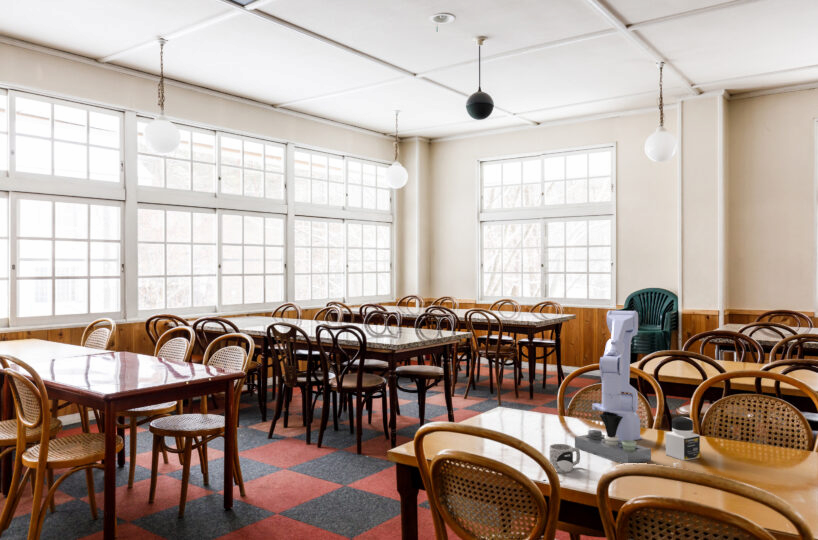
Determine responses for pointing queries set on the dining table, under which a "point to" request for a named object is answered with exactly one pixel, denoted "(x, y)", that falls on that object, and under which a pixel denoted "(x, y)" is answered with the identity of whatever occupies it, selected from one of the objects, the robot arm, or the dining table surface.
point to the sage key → (629, 445)
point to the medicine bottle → (682, 440)
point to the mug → (563, 457)
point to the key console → (612, 450)
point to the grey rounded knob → (595, 434)
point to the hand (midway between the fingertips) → (611, 436)
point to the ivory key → (611, 440)
